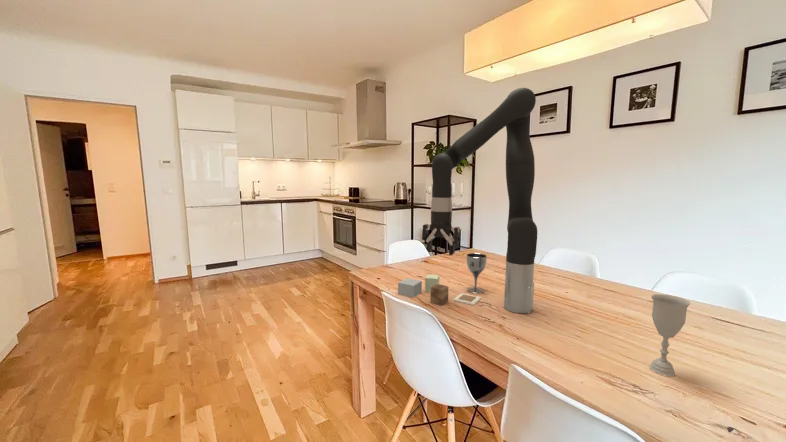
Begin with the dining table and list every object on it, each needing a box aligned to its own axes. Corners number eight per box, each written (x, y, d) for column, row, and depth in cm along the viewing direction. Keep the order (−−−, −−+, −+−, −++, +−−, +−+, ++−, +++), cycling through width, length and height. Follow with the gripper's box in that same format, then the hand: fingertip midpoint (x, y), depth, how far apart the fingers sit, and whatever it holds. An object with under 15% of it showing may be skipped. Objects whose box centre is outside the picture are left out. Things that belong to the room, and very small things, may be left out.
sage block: (439, 289, 136) (439, 275, 135) (436, 293, 131) (437, 279, 130) (427, 288, 137) (427, 274, 136) (424, 291, 132) (425, 277, 132)
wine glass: (483, 287, 138) (484, 253, 136) (486, 294, 130) (488, 257, 128) (464, 286, 138) (465, 252, 136) (466, 293, 131) (468, 257, 129)
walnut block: (448, 301, 122) (448, 286, 121) (442, 305, 118) (442, 290, 117) (436, 298, 125) (436, 283, 124) (430, 303, 121) (430, 287, 120)
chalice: (664, 362, 82) (672, 294, 79) (690, 378, 75) (699, 304, 73) (636, 362, 81) (643, 294, 79) (659, 379, 75) (668, 305, 72)
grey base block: (421, 292, 132) (421, 281, 131) (413, 298, 126) (413, 285, 125) (406, 289, 135) (406, 278, 135) (398, 294, 130) (398, 282, 129)
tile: (480, 298, 125) (481, 296, 125) (473, 305, 118) (473, 303, 118) (461, 294, 129) (461, 292, 129) (453, 300, 122) (453, 298, 122)
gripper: (463, 210, 116) (462, 254, 118) (428, 208, 124) (427, 249, 126) (455, 211, 110) (454, 258, 112) (419, 209, 118) (418, 252, 120)
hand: (440, 253), depth 119 cm, fingers open, 8 cm apart
